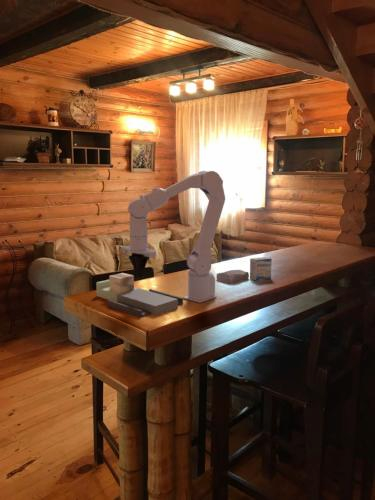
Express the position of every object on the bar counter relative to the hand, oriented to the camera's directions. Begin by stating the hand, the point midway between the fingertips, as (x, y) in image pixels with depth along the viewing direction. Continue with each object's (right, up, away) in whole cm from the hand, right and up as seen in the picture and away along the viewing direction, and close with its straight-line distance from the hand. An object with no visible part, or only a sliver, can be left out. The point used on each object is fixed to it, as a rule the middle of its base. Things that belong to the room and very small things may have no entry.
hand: (139, 276), depth 144 cm
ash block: (-7, -5, +7) cm, 11 cm away
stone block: (+34, -4, +34) cm, 48 cm away
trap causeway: (-2, -9, +3) cm, 10 cm away
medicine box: (+46, -3, +35) cm, 58 cm away
